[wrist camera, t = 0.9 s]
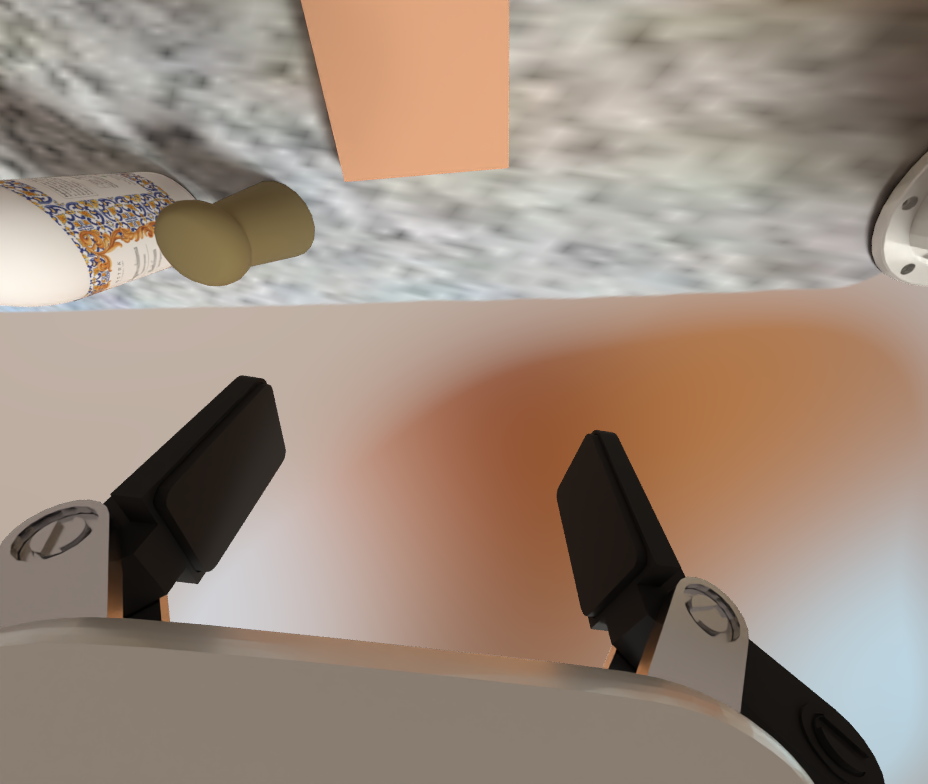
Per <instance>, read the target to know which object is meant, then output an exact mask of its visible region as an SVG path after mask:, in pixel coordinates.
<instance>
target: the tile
mask: <svg viewBox="0 0 928 784" xmlns="http://www.w3.org/2000/svg"><path fill="white" fill-rule="evenodd" d="M301 3H302V7H303V11H304V16H305V20H306V24H307V28H308V32H309V36H310V40H311V44H312V49H313V53H314V57H315V61H316V65H317V69H318V73H319V77H320V82H321V86H322V90H323V94H324V98H325V102H326V106H327V110H328V115H329V119H330V123H331V127H332V131H333V135H334V139H335V143H336V148H337V152H338V156H339V160H340V164H341V168H342V172H343V177H344V181H345V182H349V181H361V180H373V179H384V178H396V177H408V176H419V175H431V174H443V173H454V172H466V171H478V170H490V169H501V168H509V0H301Z"/></svg>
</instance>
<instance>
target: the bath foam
mask: <svg viewBox="0 0 928 784" xmlns="http://www.w3.org/2000/svg"><path fill="white" fill-rule="evenodd" d="M181 200H195V199H194V197H193V196H192V195H191V194H190V193H189V192H188V191H187V190H186V189H184V188H183V187H182V186H181V185H179V184H178V183H176V182H175V181H173V180H172V179H170V178H168V177H166V176H164V175H161V174H158V173H154V172H131V173H110V174H94V175H77V176H60V177H44V178H27V179H10V180H0V305H3V306H15V307H40V306H50V305H57V304H62V303H67V302H71V301H76V300H79V299H82V298H85V297H88V296H90V295H93V294H96V293H99V292H102V291H104V290H107V289H110V288H113V287H116V286H119V285H121V284H124V283H127V282H130V281H133V280H135V279H138V278H141V277H144V276H147V275H150V274H152V273H155V272H158V271H161V270H164V269H166V268H169V267H172V266H171V265H170V263H169V262H168V261H167V260H166V258H165V257H164V256H163V254H162V252H161V251H160V249H159V247H158V245H157V242H156V238H155V234H154V229H155V221H156V218H157V216H158V215H159V213H160V212H161V210H162V209H163V208H165V207H166V206H168V205H170V204H172V203H174V202H176V201H181Z"/></svg>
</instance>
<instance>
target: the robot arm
mask: <svg viewBox="0 0 928 784" xmlns="http://www.w3.org/2000/svg"><path fill="white" fill-rule="evenodd" d="M872 255H873V257H874V260H875V263H876V265H877V266H878V267H879V269H880V270H881V271H882V272H883V273H884V274H886V275H888V276H889V277H891V278H893V279H895V280H898V281H902V282H904V283H907V284H911V285H918V286H928V152H927V153H926V154H925V155H924V156H923V157H922V158H921V159H920V160H919V161H918V162H917V163H916V164H915V165H914V166H913V167H912V168H911V169H910V170H909V171H908V172H907V174H906V175H905V176H904V177H903V179H902V180H901V181H900V182H899V184H898V185H897V186H896V187H895V189H894V190H893V192H892V194H891V195H890V197H889V198H888V200H887V202H886V203H885V205H884V206H883V208H882V211H881V213H880V215H879V217H878V220H877V222H876V224H875V228H874V233H873V237H872ZM285 453H286V449H285V445H284V440H283V435H282V431H281V426H280V422H279V417H278V413H277V408H276V403H275V398H274V394H273V390H272V387H271V385H268V384H267V383H266V381H265V380H264V379H262V378H256V377H250V376H239V377H237V378H236V379H235V380H234V381H233V382H231V384H229V385H228V386H227V387H226V388H225V389H224V390H223V391H222V392H221V393H220V394H218V395H217V396H216V397H215V398H214V399H213V400H212V401H211V402H210V403H209V404H208V405H207V406H206V407H204V408H203V409H202V410H201V411H200V412H199V413H198V414H197V415H196V416H195V417H194V418H192V420H190V421H189V422H188V423H187V424H186V425H185V426H184V427H183V428H182V429H180V430H179V431H178V432H177V433H176V434H175V435H174V436H173V437H172V438H171V439H170V440H169V441H167V442H166V443H165V444H164V445H163V446H162V447H161V448H160V449H159V450H158V451H157V452H156V453H155V454H153V455H152V456H151V457H150V458H149V459H148V460H147V461H146V462H145V463H144V464H143V465H141V466H140V467H139V468H138V469H137V470H136V471H135V472H134V473H133V474H132V475H131V476H130V477H128V478H127V479H126V480H125V481H124V482H123V483H122V484H121V485H120V486H119V487H118V488H117V489H115V490H114V491H113V492H112V493H111V497H110V498H109V499H108V500H107V501H106V502H105V503H104V504H102V503H101V502H97V501H93V500H77V501H72V502H67V503H63V504H59V505H57V506H54V507H51V508H49V509H46V510H44V511H42V512H40V513H38V514H37V515H34V516H33V517H31V518H29V519H27V520H26V521H24V522H23V523H22V524H20V525H19V526H18V527H16V528H15V529H14V530H13V531H12V532H11V533H10V534H9V535H8V536H7V537H6V538H5V539H4V540H3V541H2V543H1V545H0V784H885V783H884V778H883V774H882V771H881V769H880V767H879V765H878V763H877V761H876V758H875V756H874V755H873V753H872V752H871V750H870V749H869V747H868V746H867V744H866V743H865V741H864V739H863V738H862V737H861V736H860V735H859V733H858V732H857V731H856V730H855V729H854V727H853V726H852V725H851V724H850V723H849V722H848V721H847V720H846V719H845V718H844V717H843V716H841V714H839V713H838V712H837V711H836V710H835V709H834V708H833V707H831V706H830V705H829V704H828V703H827V702H825V701H824V700H823V699H822V698H820V697H819V696H818V695H817V694H816V693H814V692H813V691H812V690H811V689H809V688H808V687H807V686H806V685H805V684H803V683H802V682H801V681H800V680H798V679H797V678H796V677H795V676H794V675H792V674H791V673H790V672H789V671H787V670H786V669H785V668H784V667H782V666H781V665H780V664H779V663H777V662H776V661H775V660H774V659H773V658H772V657H770V656H769V655H768V654H767V653H765V652H764V651H763V650H762V649H760V648H759V647H758V646H757V645H756V644H754V643H753V642H752V641H751V640H750V639H749V636H748V628H747V626H746V623H745V620H744V618H743V616H742V614H741V613H740V611H739V610H738V608H737V607H736V605H735V604H734V603H733V602H732V601H731V600H730V598H729V597H728V596H727V595H726V594H725V593H723V592H722V591H721V590H720V589H718V588H717V587H716V586H714V585H712V584H711V583H709V582H708V581H706V580H703V579H700V578H697V577H685V575H684V573H683V571H682V569H681V566H680V564H679V563H678V560H677V558H676V556H675V554H674V552H673V550H672V548H671V546H670V544H669V542H668V540H667V537H666V535H665V534H664V531H663V529H662V527H661V525H660V523H659V521H658V519H657V517H656V515H655V513H654V511H653V509H652V507H651V504H650V502H649V500H648V498H647V496H646V494H645V492H644V490H643V488H642V486H641V484H640V482H639V480H638V478H637V475H636V473H635V471H634V469H633V467H632V465H631V463H630V461H629V459H628V457H627V455H626V453H625V451H624V449H623V447H622V445H621V442H620V441H619V438H618V437H617V435H616V434H615V433H612V432H606V431H600V430H594V431H593V432H592V433H591V434H587V435H586V436H585V438H584V440H583V442H582V444H581V446H580V448H579V449H578V452H577V453H576V455H575V457H574V459H573V461H572V463H571V465H570V467H569V468H568V470H567V472H566V474H565V476H564V478H563V480H562V482H561V484H560V486H559V488H558V490H557V502H558V507H559V511H560V516H561V520H562V524H563V529H564V534H565V538H566V543H567V547H568V552H569V556H570V561H571V565H572V570H573V574H574V579H575V583H576V588H577V592H578V597H579V601H580V606H581V610H582V612H583V614H584V615H585V616H588V618H589V623H590V627H591V629H596V630H604V631H609V636H610V639H611V643H612V646H611V649H610V651H609V653H608V655H607V658H606V660H605V662H604V665H603V667H602V668H596V667H588V666H580V665H573V664H565V663H557V662H548V661H539V660H531V659H522V658H513V657H503V656H495V655H486V654H477V653H468V652H459V651H450V650H440V649H432V648H422V647H413V646H404V645H394V644H385V643H376V642H366V641H356V640H348V639H338V638H329V637H319V636H310V635H300V634H290V633H280V632H270V631H261V630H251V629H241V628H230V627H221V626H212V625H201V624H189V623H177V622H170V617H169V606H168V596H167V594H168V592H169V591H170V589H171V588H172V587H173V585H174V584H175V582H176V581H177V582H185V583H195V584H198V583H199V582H200V580H201V578H202V577H203V575H204V574H205V572H209V571H211V570H212V569H214V568H215V566H216V565H217V564H218V562H219V561H220V559H221V557H222V556H223V554H224V553H225V551H226V550H227V548H228V547H229V545H230V543H231V542H232V540H233V539H234V537H235V536H236V534H237V532H238V531H239V529H240V528H241V526H242V525H243V523H244V522H245V520H246V518H247V517H248V515H249V514H250V512H251V511H252V509H253V508H254V506H255V504H256V503H257V501H258V500H259V498H260V497H261V495H262V493H263V492H264V490H265V489H266V487H267V486H268V484H269V482H270V481H271V479H272V478H273V476H274V475H275V473H276V471H277V470H278V468H279V467H280V465H281V464H282V462H283V460H284V458H285Z"/></svg>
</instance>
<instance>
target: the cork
mask: <svg viewBox="0 0 928 784" xmlns="http://www.w3.org/2000/svg"><path fill="white" fill-rule="evenodd" d="M314 232H315V226H314V222H313V218H312V215H311V213H310V211H309V209H308V207H307V205H306V203H305V202H304V201H303V200H302V199H301V198H300V196H299V195H298V194H297V193H296V192H294V191H293V190H292V189H290V188H289V187H287V186H286V185H284V184H281V183H278V182H275V181H263V182H260V183H258V184H256V185H254V186H251V187H249V188H247V189H245V190H242V191H240V192H238V193H236V194H233V195H231V196H229V197H227V198H224V199H222V200H220V201H217V202H215V203H213V204H210V203H207V202H204V201H199V200H181V201H176V202H174V203H172V204H170V205H168V206H166V207H165V208H163V209H162V210H161V212H160V213H159V215H158V216H157V218H156V221H155V229H154V234H155V238H156V242H157V245H158V247H159V249H160V251H161V252H162V254H163V256H164V257H165V258H166V260H167V261H168V262H169V263H170V265H171V266H172V267H173V268H175V269H176V270H177V271H178V272H179V273H180V274H182V275H183V276H185V277H187V278H189V279H190V280H192V281H195V282H198V283H201V284H205V285H208V286H224V285H228V284H231V283H233V282H236V281H238V280H239V279H241V278H242V277H243V276H244V274H245V273H246V272H247V271H248V270H249V268H250V267H251V266H256V265H260V264H265V263H269V262H274V261H278V260H283V259H287V258H291V257H296V256H299V255H301V254H304V253H305V252H306V251H307V250H308V249H309V248H310V247H311V245H312V243H313V240H314Z"/></svg>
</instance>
